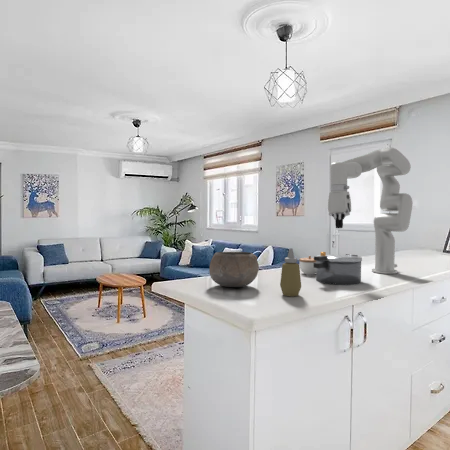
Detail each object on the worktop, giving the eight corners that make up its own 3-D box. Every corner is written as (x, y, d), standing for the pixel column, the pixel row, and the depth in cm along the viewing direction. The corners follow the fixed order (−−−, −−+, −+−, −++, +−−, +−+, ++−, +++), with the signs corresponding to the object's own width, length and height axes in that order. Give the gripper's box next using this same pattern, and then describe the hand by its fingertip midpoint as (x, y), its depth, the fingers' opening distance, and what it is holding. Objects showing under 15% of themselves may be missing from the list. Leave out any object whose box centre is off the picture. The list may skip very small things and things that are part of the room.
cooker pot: (333, 275, 182) (333, 256, 181) (369, 281, 166) (370, 260, 165) (298, 281, 166) (298, 259, 166) (335, 288, 150) (335, 264, 150)
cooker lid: (334, 255, 182) (334, 249, 182) (372, 259, 166) (372, 253, 166) (298, 259, 166) (298, 252, 166) (336, 264, 150) (336, 257, 149)
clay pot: (202, 284, 159) (202, 250, 158) (244, 281, 167) (244, 248, 167) (220, 294, 139) (220, 255, 139) (267, 289, 148) (267, 253, 147)
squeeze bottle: (277, 293, 142) (278, 247, 141) (297, 292, 142) (298, 247, 142) (282, 297, 134) (283, 249, 133) (303, 297, 134) (304, 249, 134)
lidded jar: (320, 275, 181) (321, 257, 181) (299, 275, 183) (299, 256, 183) (319, 272, 192) (319, 255, 191) (299, 271, 194) (299, 254, 194)
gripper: (357, 188, 165) (358, 228, 165) (330, 189, 176) (330, 227, 177) (348, 188, 160) (348, 229, 161) (320, 189, 172) (321, 228, 173)
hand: (339, 227), depth 169 cm, fingers closed
